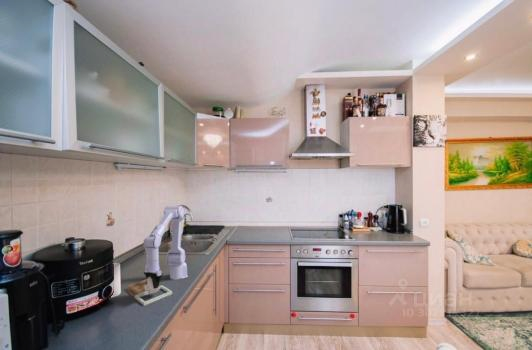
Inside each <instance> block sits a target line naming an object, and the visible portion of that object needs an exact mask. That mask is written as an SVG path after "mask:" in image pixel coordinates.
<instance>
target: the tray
mask: <svg viewBox="0 0 532 350" xmlns="http://www.w3.org/2000/svg"><path fill="white" fill-rule="evenodd" d="M159 290H163V291H165V293H162V294H160V295H158V296H155V297H153V298H151V299H148V300H146V301H145V300H144V299H143V298H141V297H145V296H147V295H149V293H148V291H146V292H143V293H141V294H138V295H135V298H134V299H135V300H137V301H138V302H139V303H140V304H142V305H143V308H147V307H149V306H152V305H154V304H156V303H158V301H159V302H161V301H164V300H166V299H168V298H170V297H173V290H170V289H169V288H168V287H166V286H164V285H159ZM167 297H168V298H167ZM165 298H166V299H165Z"/></svg>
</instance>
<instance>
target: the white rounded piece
mask: <svg viewBox="0 0 532 350" xmlns="http://www.w3.org/2000/svg"><path fill="white" fill-rule="evenodd" d="M146 279H147V284H146V285H145V291H147V290H148V293H149V294H155V293H157V292H159V291H160V289H159V287H158V288H155V289H154V288H153V282H152V279H151V277H148V278H146ZM147 287H148V288H147ZM149 294H148V295H149Z"/></svg>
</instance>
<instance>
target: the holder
mask: <svg viewBox="0 0 532 350" xmlns="http://www.w3.org/2000/svg"><path fill="white" fill-rule="evenodd" d="M146 284H147V278H146V279H143V280H140V281H138V282H134V283H132V284H129V285H127V286H126V287H127V288H124V289H123V290H124V291H125V292H126V293H128V295H130V296H131V297H132V298H134V299H135V295H138V294H141V293H143V292H146V291H145V285H146ZM147 288H148V287H147ZM147 291H148V290H147Z"/></svg>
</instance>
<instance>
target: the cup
mask: <svg viewBox="0 0 532 350" xmlns="http://www.w3.org/2000/svg"><path fill="white" fill-rule="evenodd" d="M112 263H113V264H114V293H113V295H112V296H111V298H110V299H112V298H116V297H118V296H119V295H120V294H121V293H122V288H121V287H122V284H121V263H119V262H112Z"/></svg>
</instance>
